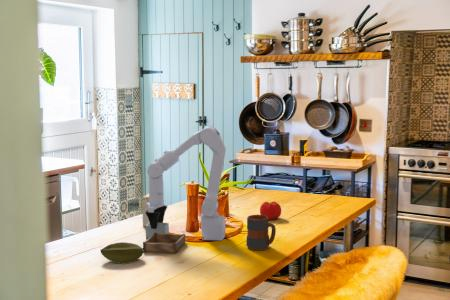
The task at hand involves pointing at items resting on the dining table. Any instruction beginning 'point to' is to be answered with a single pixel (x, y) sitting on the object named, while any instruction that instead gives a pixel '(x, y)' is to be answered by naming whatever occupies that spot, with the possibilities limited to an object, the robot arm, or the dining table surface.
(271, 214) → the tomato
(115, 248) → the fruit
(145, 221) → the supplement box
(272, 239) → the mug
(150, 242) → the walnut crate
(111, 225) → the dining table surface
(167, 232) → the grey crate
